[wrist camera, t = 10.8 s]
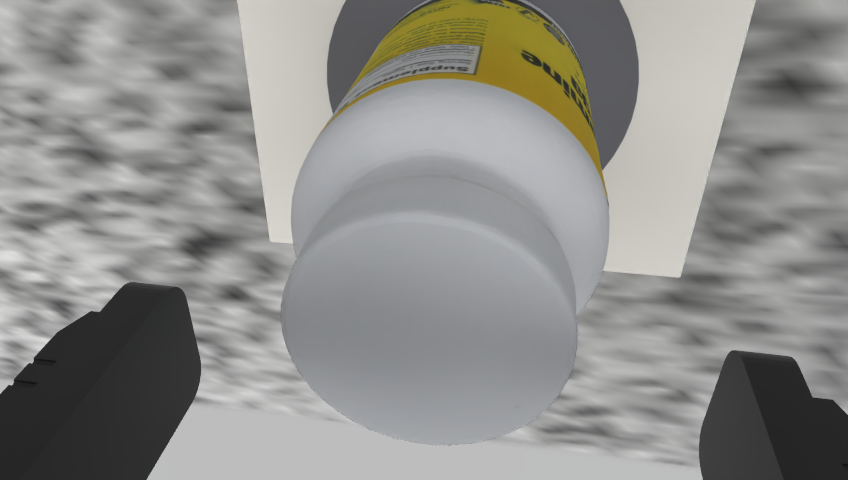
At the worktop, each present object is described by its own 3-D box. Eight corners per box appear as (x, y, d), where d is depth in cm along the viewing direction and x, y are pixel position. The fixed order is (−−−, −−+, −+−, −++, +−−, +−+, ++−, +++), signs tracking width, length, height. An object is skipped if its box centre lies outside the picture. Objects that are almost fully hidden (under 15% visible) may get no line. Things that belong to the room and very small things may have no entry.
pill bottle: (604, 160, 20) (662, 459, 11) (412, 205, 22) (323, 494, 13) (558, -51, 17) (585, 116, 8) (340, 19, 19) (157, 223, 10)
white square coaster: (787, -141, 16) (795, -139, 16) (677, 268, 23) (680, 279, 22) (223, -153, 18) (214, -152, 17) (274, 234, 24) (268, 243, 24)
